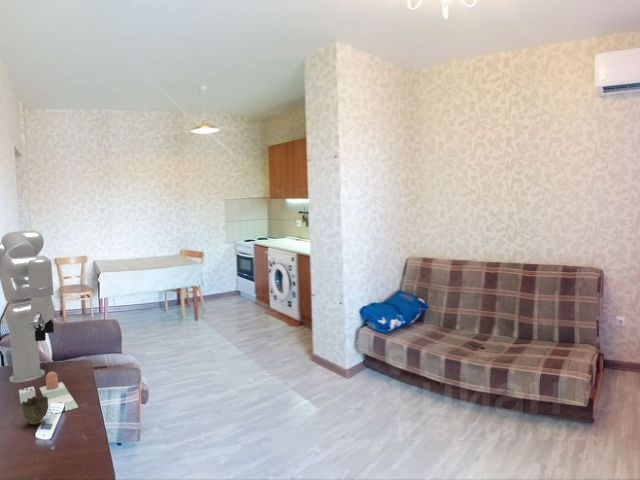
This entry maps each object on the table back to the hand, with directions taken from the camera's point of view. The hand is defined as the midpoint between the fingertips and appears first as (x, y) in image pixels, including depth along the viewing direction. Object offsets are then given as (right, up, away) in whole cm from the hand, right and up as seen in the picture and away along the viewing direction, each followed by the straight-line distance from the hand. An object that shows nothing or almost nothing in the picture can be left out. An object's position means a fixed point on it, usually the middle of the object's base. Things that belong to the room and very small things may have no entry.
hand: (44, 336), depth 164 cm
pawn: (-3, -22, +10) cm, 25 cm away
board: (+4, -23, +1) cm, 24 cm away
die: (-5, -24, -1) cm, 25 cm away
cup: (+9, -25, -18) cm, 32 cm away
